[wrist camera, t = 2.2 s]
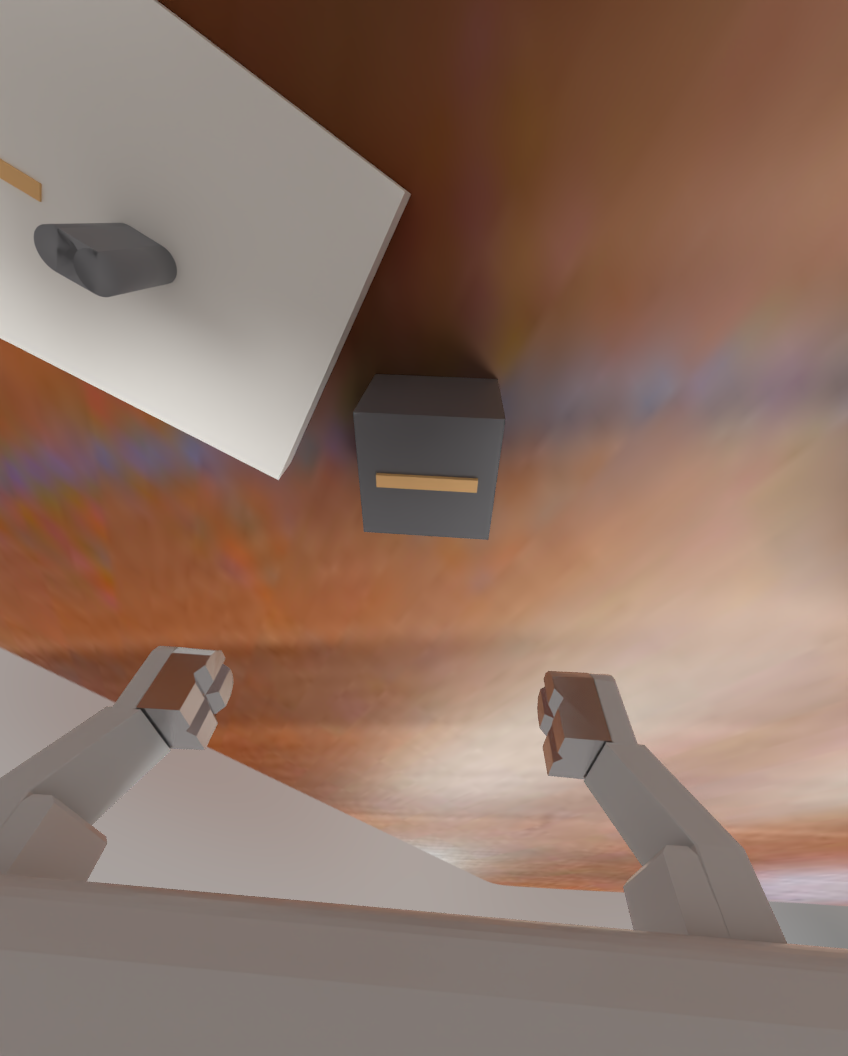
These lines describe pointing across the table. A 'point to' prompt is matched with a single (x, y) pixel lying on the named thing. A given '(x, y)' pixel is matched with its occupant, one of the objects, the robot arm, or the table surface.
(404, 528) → the grey drawer box
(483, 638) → the table surface
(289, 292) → the hub plate
